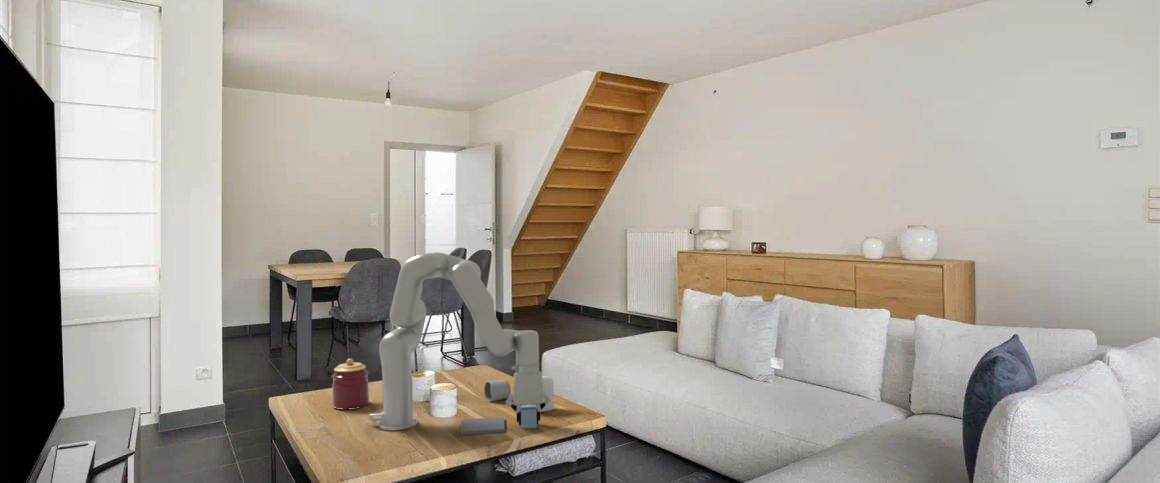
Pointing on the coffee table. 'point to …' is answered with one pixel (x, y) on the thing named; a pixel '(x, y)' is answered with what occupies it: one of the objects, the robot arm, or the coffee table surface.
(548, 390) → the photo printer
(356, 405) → the canister
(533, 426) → the blue block
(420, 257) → the robot arm
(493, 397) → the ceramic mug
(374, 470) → the coffee table surface
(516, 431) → the coffee table surface
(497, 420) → the slate pad
